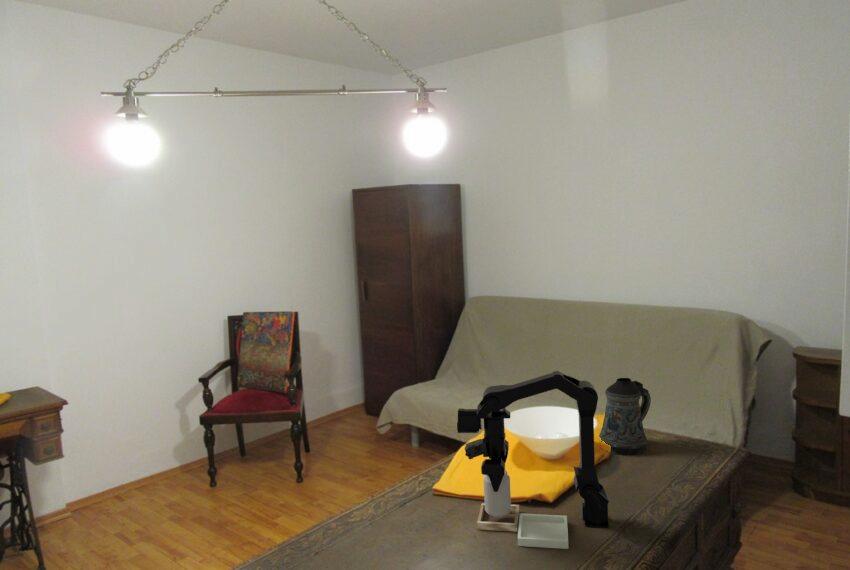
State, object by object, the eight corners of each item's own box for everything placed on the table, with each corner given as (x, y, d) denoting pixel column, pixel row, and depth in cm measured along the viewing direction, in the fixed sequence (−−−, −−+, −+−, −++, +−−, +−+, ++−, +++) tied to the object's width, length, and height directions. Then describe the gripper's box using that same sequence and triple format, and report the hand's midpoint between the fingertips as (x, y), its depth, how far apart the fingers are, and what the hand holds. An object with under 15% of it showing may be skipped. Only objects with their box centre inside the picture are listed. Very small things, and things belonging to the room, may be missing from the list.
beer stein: (591, 449, 214) (589, 382, 211) (613, 432, 228) (611, 369, 225) (637, 459, 203) (636, 389, 200) (656, 441, 218) (655, 375, 215)
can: (510, 519, 164) (508, 478, 163) (483, 518, 166) (481, 477, 164) (512, 506, 172) (510, 466, 170) (486, 505, 173) (484, 466, 172)
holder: (519, 511, 173) (519, 504, 173) (517, 531, 162) (517, 524, 162) (481, 509, 176) (481, 503, 175) (477, 529, 165) (476, 522, 164)
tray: (567, 522, 165) (566, 515, 165) (568, 548, 153) (568, 541, 153) (520, 520, 168) (519, 513, 168) (517, 545, 156) (517, 538, 155)
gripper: (470, 420, 177) (472, 469, 178) (461, 444, 158) (464, 499, 160) (507, 420, 174) (510, 471, 176) (502, 445, 156) (505, 501, 158)
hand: (496, 485), depth 168 cm, fingers closed on can, 7 cm apart
